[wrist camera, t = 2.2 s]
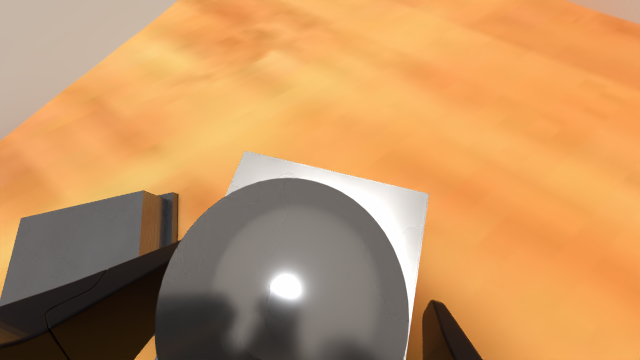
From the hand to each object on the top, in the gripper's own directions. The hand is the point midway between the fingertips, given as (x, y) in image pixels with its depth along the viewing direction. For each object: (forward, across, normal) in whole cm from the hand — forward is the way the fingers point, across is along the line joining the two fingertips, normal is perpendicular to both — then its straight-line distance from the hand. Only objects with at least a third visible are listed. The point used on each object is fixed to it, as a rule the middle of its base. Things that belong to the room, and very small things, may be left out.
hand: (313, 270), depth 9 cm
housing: (+5, 0, +6) cm, 8 cm away
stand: (+2, +16, +9) cm, 18 cm away
